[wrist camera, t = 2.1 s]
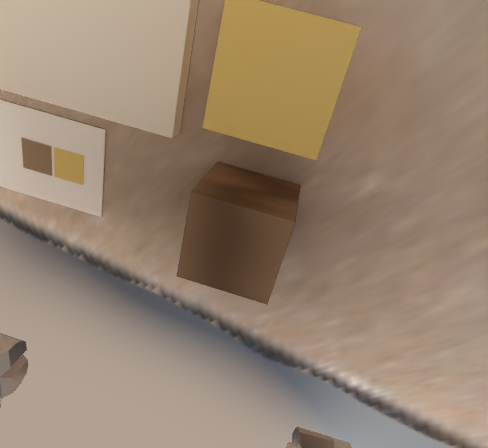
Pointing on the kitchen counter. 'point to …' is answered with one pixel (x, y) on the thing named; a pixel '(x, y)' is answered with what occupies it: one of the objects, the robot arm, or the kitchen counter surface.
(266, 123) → the mustard block
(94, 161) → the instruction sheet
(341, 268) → the kitchen counter surface
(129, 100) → the plate
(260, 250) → the walnut block
